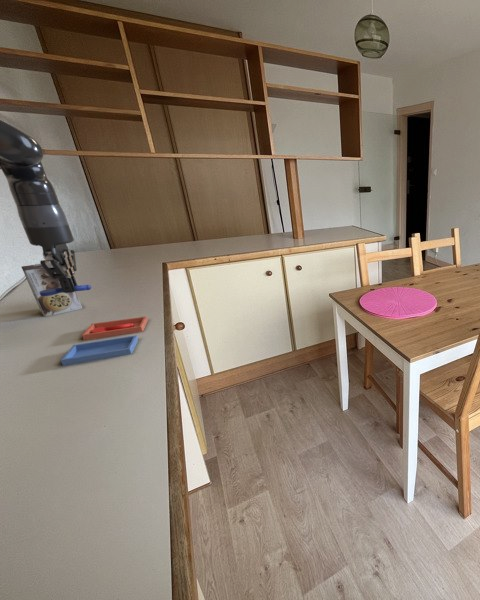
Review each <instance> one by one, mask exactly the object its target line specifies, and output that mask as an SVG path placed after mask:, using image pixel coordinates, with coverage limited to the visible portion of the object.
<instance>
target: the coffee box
mask: <svg viewBox="0 0 480 600" xmlns="http://www.w3.org/2000/svg"><path fill="white" fill-rule="evenodd" d="M21 270H22V271H23V274H24V276H25V278H26V280H27V281H26V282H27V283H28V286H29V288H30V291H31V292H32V294H33V297H34V299H35V301H36V304H37V306H38V308H39V311H40V313H41V314H42V316H43V317H50V316H54V315H59V314H63V313H69V312H72V311H73V312H74V311H76V310H77V311H78V310H81V309H83V306H82V304H81V301H80V299H79V296H78V293H77V291H75V292H71V293H58V294H55V295H51V296H41V295H40V293H39V292H40V291H43V290H46V289H56V288H60V287H61V284H60V282H59V279H53V278H52V277H51V276H50V275H49V273H48V272H47V271H46V270H45V269H44V267H43V266H42V265H41V263H37V264H29V265H22V266H21Z"/></svg>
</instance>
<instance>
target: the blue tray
mask: <svg viewBox="0 0 480 600" xmlns="http://www.w3.org/2000/svg"><path fill="white" fill-rule="evenodd" d="M138 342H139V337H138V335H136V334H135V335H129V336H122V337H116V338H110V339H103V340H96V341H90V342H83V343H78V344H77V343H76V344H72V346H71V347H70V349H68V351H67V352H66V353H65V354H64V355H63V357H61V359H60V363H61V365H62V366H65V367H66V366H69V365H77V364H82V363H87V362H93V361H99V360H104V359H110V358H116V357H121V356H127V355H132V353H133V352H134V349H135V348H136V346H137V344H138Z"/></svg>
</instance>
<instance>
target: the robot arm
mask: <svg viewBox="0 0 480 600" xmlns="http://www.w3.org/2000/svg"><path fill="white" fill-rule="evenodd" d="M43 158H44V150H43V148H42V146H41V145H40V143H39V142H38V141H37V140H36V139H35V138H33V137H31V136H30V135H29V134H27V133H25V132H24V131H22V130H20V129H18V128H17V127H15V126H13V125H11V124H10V123H8V122H6V121H4V120H2V119H0V170H1V171H2V173H3V175H4V177H5V178H6V182H7V184H8V188H9V192H10V194H11V196H12V199H13V201H14V203H15V206H16V210H17V215H18V218H19V220H20V222H21V225H22V228H23V229H24V232H25V234H26V238H27V239H28V242H29V244H30V245H31V246H36V247H40V248H41V249H42V257H43V260H42V259H41V260H40V261H39V262H40V263H39V264H41V265H42V266H43V267H44V269H45V270H46V271H47V272H48V273H49V275H50V276H51V277H52V278H53V279H59V282H60V284H61V287H62V290H63V292H64V293H71V292H75V291H76V289H75V286H79V285H78V283H77V280H76V272H77V270H78V269H77V261H76V252H75V250H73V249H70V248H69V247H68V244H70V243H73V242H74V240H75V239H74V236H73V233H72V230H71V228H70V224H69V222H68V220H67V219H68V218H67V216H66V214H65V211H64V210H63V207H62V205H61V204H60V201H59V199H58V195H57V193H56V189H55V187H54V185H53V184H52V182H51V181H50V180H49V179H48V177H47V174H46V171H45V169H44V166H43V162H42V161H43ZM76 292H77V291H76Z"/></svg>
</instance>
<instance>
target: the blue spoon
mask: <svg viewBox="0 0 480 600" xmlns="http://www.w3.org/2000/svg"><path fill="white" fill-rule="evenodd" d="M75 289H76V292H83V291H90V290H92V286H91V285H90V284H82V285H78V286H75ZM39 293H40V295H41V296H51V295H55V294H58V293H64V292H63V290H62V287H60V288H56V289H46V290H43V291H40V292H39Z"/></svg>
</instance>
